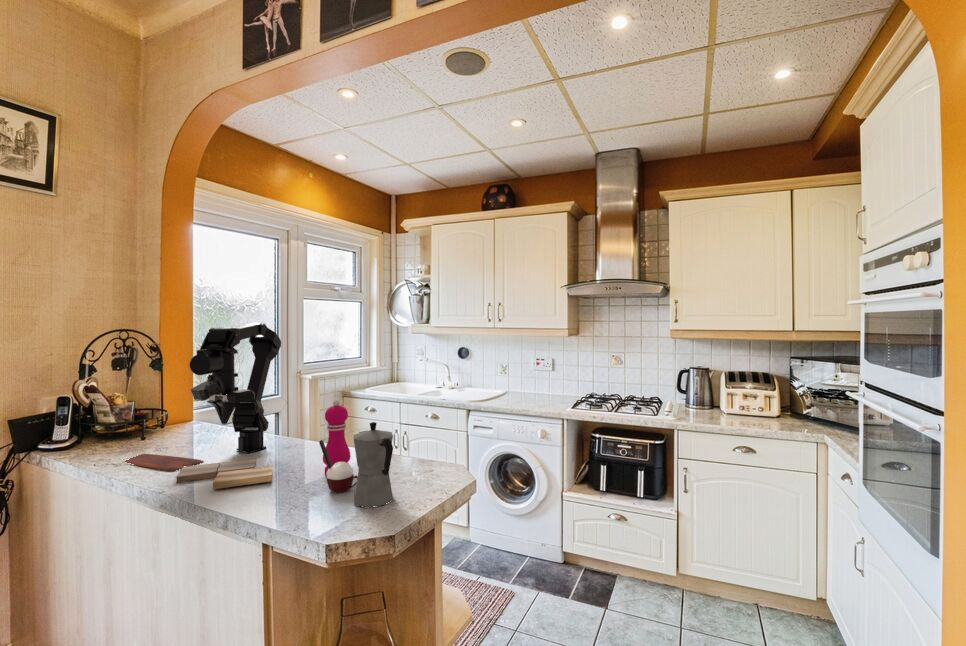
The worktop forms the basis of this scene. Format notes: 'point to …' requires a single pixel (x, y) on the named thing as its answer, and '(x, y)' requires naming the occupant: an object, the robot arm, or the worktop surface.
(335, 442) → the pepper mill
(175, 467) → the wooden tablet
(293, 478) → the worktop surface
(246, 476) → the oak plank
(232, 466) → the weathered wooden board
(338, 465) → the cocoa
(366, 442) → the coffeepot
